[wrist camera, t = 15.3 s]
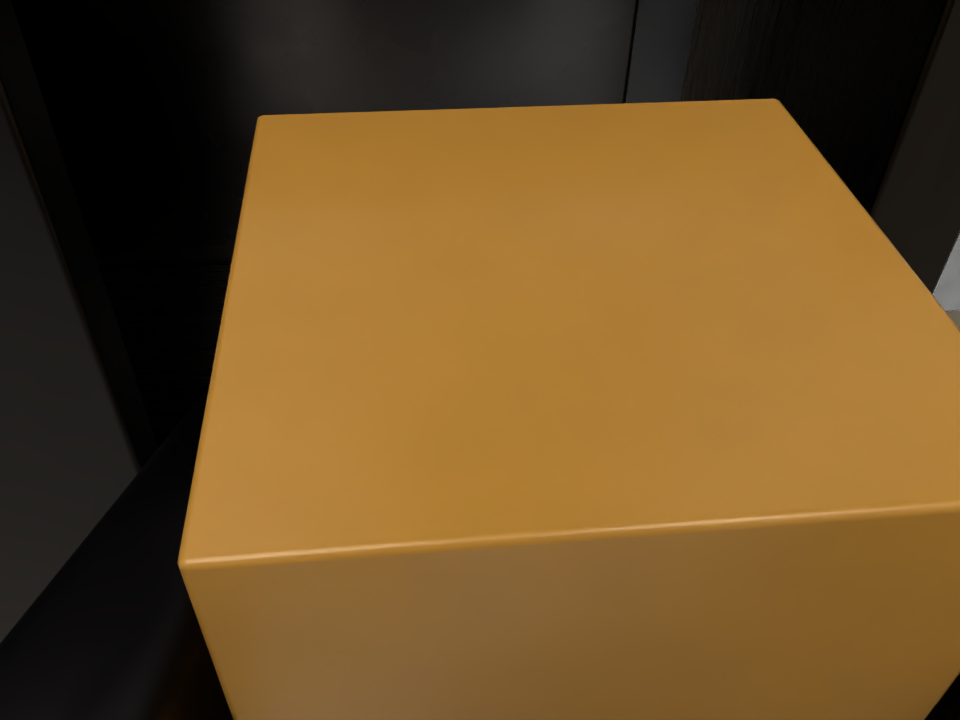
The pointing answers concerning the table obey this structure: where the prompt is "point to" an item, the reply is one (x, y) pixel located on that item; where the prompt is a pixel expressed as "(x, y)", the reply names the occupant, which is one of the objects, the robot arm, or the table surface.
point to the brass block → (573, 427)
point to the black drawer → (443, 85)
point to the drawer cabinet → (52, 354)
